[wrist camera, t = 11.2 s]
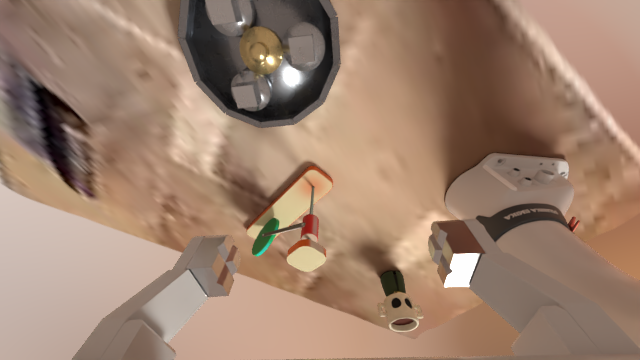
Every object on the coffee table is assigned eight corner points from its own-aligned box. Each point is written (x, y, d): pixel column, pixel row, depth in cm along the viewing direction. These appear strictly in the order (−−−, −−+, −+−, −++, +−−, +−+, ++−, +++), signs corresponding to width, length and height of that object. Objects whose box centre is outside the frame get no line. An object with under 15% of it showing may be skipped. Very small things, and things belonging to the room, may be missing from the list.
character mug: (413, 269, 65) (431, 318, 54) (407, 284, 69) (422, 333, 58) (374, 267, 65) (383, 316, 54) (369, 282, 69) (378, 331, 58)
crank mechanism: (311, 163, 47) (304, 235, 31) (335, 181, 49) (340, 258, 33) (245, 228, 58) (214, 308, 42) (267, 241, 60) (246, 321, 44)
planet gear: (323, 19, 33) (322, 19, 28) (326, 66, 36) (326, 72, 32) (280, 24, 33) (274, 25, 29) (288, 71, 36) (283, 77, 32)
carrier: (332, -66, 29) (334, -84, 24) (343, 114, 41) (345, 126, 36) (160, -38, 31) (128, -49, 26) (220, 126, 43) (206, 140, 38)
